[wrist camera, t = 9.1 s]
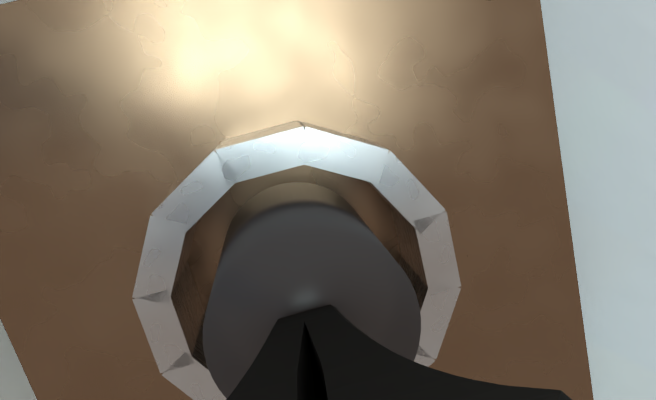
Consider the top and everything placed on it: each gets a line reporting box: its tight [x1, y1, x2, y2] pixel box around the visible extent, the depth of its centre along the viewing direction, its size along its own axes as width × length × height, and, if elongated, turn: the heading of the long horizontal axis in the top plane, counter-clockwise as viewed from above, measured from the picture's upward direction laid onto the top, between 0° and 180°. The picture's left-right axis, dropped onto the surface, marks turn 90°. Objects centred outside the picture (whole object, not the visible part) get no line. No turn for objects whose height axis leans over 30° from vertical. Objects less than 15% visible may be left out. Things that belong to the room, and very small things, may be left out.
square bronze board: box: [0, 0, 593, 400], centre depth 16 cm, size 20×20×4 cm
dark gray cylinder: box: [202, 182, 421, 399], centre depth 14 cm, size 5×5×6 cm
